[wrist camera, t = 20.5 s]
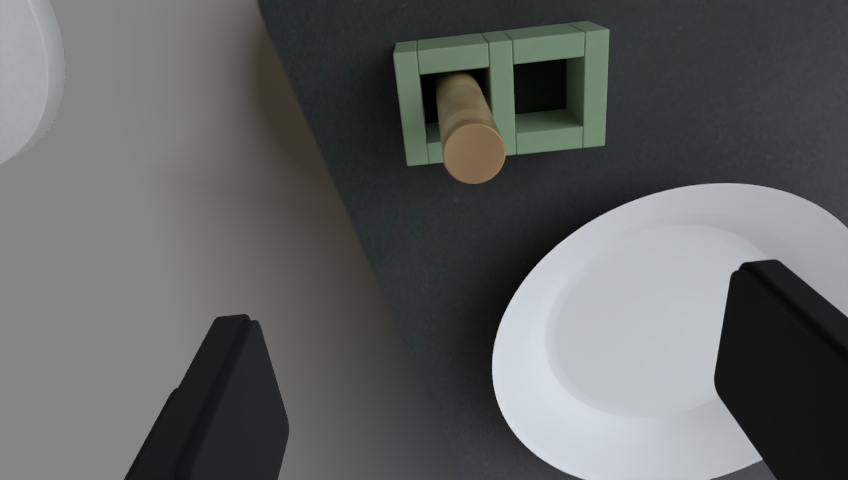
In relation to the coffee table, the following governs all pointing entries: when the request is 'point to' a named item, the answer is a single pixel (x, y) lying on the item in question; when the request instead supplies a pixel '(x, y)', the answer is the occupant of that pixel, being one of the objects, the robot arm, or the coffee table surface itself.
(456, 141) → the stick
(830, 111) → the coffee table surface
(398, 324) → the coffee table surface
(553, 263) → the white plate
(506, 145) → the holder
